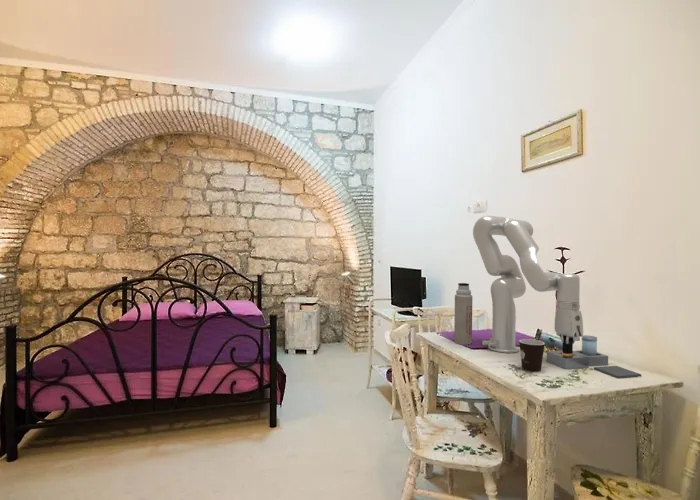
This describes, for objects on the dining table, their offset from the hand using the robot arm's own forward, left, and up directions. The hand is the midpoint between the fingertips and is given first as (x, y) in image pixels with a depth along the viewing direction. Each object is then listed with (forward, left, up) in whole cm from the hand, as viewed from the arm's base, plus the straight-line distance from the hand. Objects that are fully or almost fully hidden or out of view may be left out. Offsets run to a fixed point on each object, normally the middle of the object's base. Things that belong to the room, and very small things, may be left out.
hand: (567, 353), depth 149 cm
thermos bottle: (-24, +38, -5) cm, 45 cm away
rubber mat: (+10, -12, -4) cm, 16 cm away
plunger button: (0, 0, -4) cm, 4 cm away
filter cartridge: (+11, +1, -4) cm, 12 cm away
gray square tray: (+11, +1, -4) cm, 12 cm away
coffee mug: (-17, -1, -5) cm, 17 cm away
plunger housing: (0, 0, -4) cm, 4 cm away
